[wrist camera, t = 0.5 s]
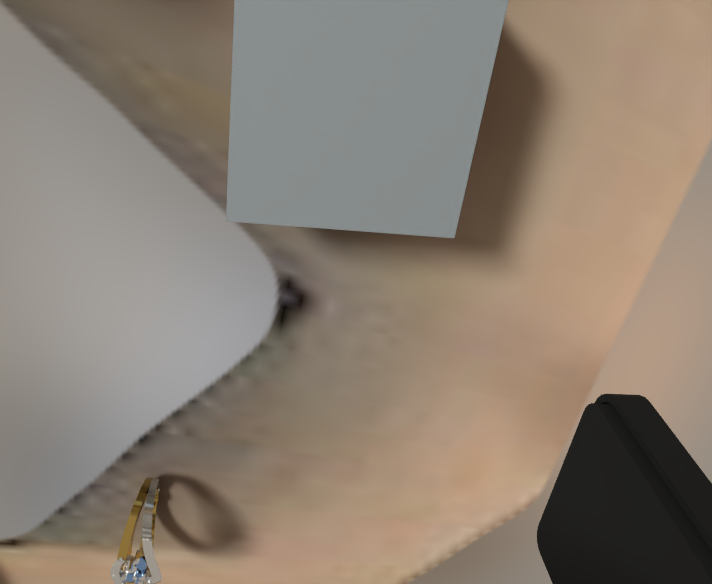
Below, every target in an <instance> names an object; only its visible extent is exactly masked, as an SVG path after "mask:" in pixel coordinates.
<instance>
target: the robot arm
mask: <svg viewBox="0 0 712 584" xmlns="http://www.w3.org/2000/svg"><path fill="white" fill-rule="evenodd" d="M537 542H538V548H539V551H540V554H541V556H542V559H543V561H544V563H545V566H546V569H547V571H548V573H549V576H550V578H551V581H552V583H553V584H712V483H711V482H710V481H709V480H708V478H707V477H706V476H705V474H704V473H703V472H702V470H701V469H700V468H699V466H698V465H697V464H696V462H695V461H694V460H693V458H692V457H691V456H690V454H689V453H688V452H687V450H686V449H685V448H684V446H683V445H682V444H681V443H680V441H679V440H678V439H677V437H676V436H675V435H674V433H673V432H672V431H671V429H670V428H669V427H668V425H667V424H666V423H665V421H664V420H663V419H662V417H661V416H660V415H659V413H658V412H657V411H656V410H655V408H654V407H653V406H652V405H651V403H650V402H649V401H648V400H647V399H646V398H645V397H643V396H640V395H623V394H603V395H601V396H600V397H598V398H597V400H596V402H595V403H593V404H589V405H588V406H587V407H586V408H585V410H584V412H583V415H582V417H581V420H580V422H579V425H578V427H577V430H576V432H575V435H574V437H573V440H572V443H571V445H570V447H569V450H568V453H567V455H566V458H565V460H564V463H563V465H562V468H561V470H560V473H559V476H558V478H557V480H556V483H555V485H554V488H553V490H552V493H551V495H550V498H549V500H548V503H547V505H546V508H545V510H544V513H543V515H542V518H541V520H540V523H539V526H538V530H537Z"/></svg>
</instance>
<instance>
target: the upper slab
mask: <svg viewBox="0 0 712 584" xmlns="http://www.w3.org/2000/svg"><path fill="white" fill-rule="evenodd" d="M507 4H508V0H235V2H234V28H233V54H232V80H231V106H230V133H229V159H228V185H227V211H226V221H230V222H243V223H257V224H270V225H283V226H297V227H310V228H323V229H337V230H350V231H364V232H377V233H390V234H404V235H417V236H430V237H444V238H455V234H456V229H457V225H458V220H459V216H460V212H461V207H462V203H463V198H464V194H465V190H466V185H467V181H468V176H469V172H470V167H471V163H472V159H473V154H474V150H475V145H476V141H477V137H478V132H479V128H480V123H481V119H482V115H483V110H484V106H485V101H486V97H487V93H488V88H489V84H490V79H491V75H492V71H493V66H494V62H495V57H496V53H497V48H498V44H499V40H500V35H501V31H502V26H503V22H504V18H505V13H506V9H507Z"/></svg>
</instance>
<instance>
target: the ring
mask: <svg viewBox="0 0 712 584" xmlns="http://www.w3.org/2000/svg"><path fill="white" fill-rule="evenodd" d="M159 485H160V479H154V478H147V479H146V480H145V481H144V483H143V485H142V487H141V489H140V491H139V493H138V496H137V498H136V500H135V503H134V505H133V508H132V511H131V513H130V516H129V519H128V522H127V525H126V528H125V531H124V534H123V538H122V541H121V545H120V549H119V553H118V558H117V561H116V562H115V563H114V564H113V566H112V568H111V578H112V580H113V581H114V583H115V584H156V583H158V582H160V581H161V580H162V577H161V573H160V571H159V568H158V565H157V562H156V559H155V556H154V552H153V540H154V528H155V518H156V509H157V503H158V497H159V491H160V488H159ZM145 500H146V501H145ZM144 502H145V503H146V504H145V509H144V516H143V526H142V537H141V543H140V548H139V550H137V552H136V555H135V557H134V556H131V552H132V542H133V537H134V532H135V528H136V525H137V521H138V518H139V515H140V512H141V510H142V507H143V505H144ZM126 563H127V565H126V567H125V570H124V572H123V565H124V564H126Z"/></svg>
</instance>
